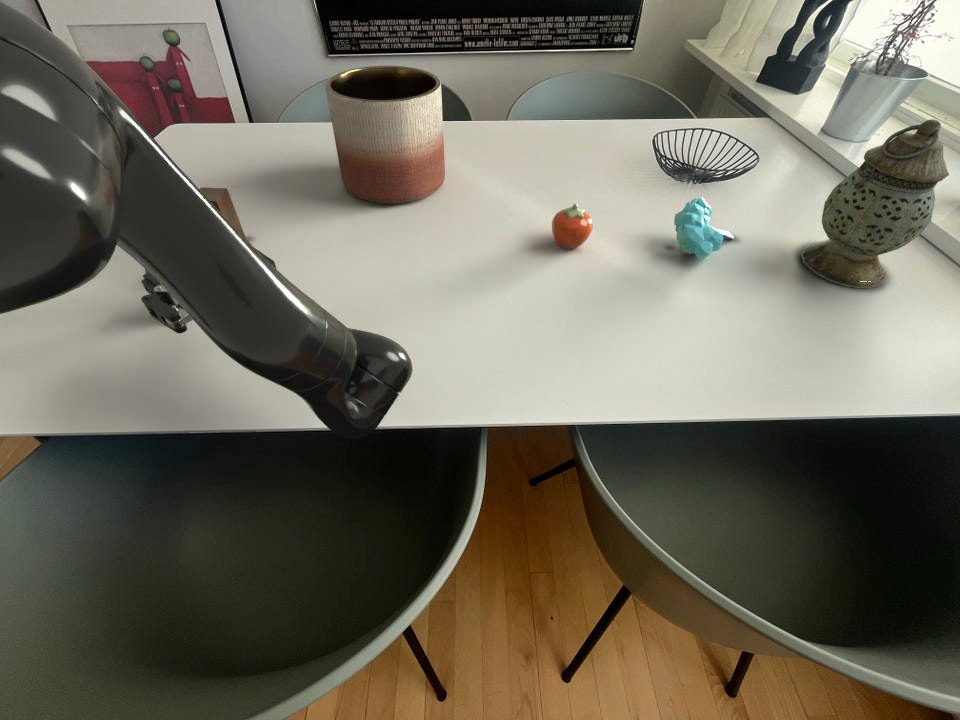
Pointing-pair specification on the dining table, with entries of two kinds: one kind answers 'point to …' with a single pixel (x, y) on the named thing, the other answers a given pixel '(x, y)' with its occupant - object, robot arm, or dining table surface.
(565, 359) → the dining table surface
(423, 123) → the planter
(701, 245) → the turquoise faceted lumpy piece
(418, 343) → the dining table surface
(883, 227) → the lantern
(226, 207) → the block far
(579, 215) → the tomato
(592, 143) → the dining table surface
